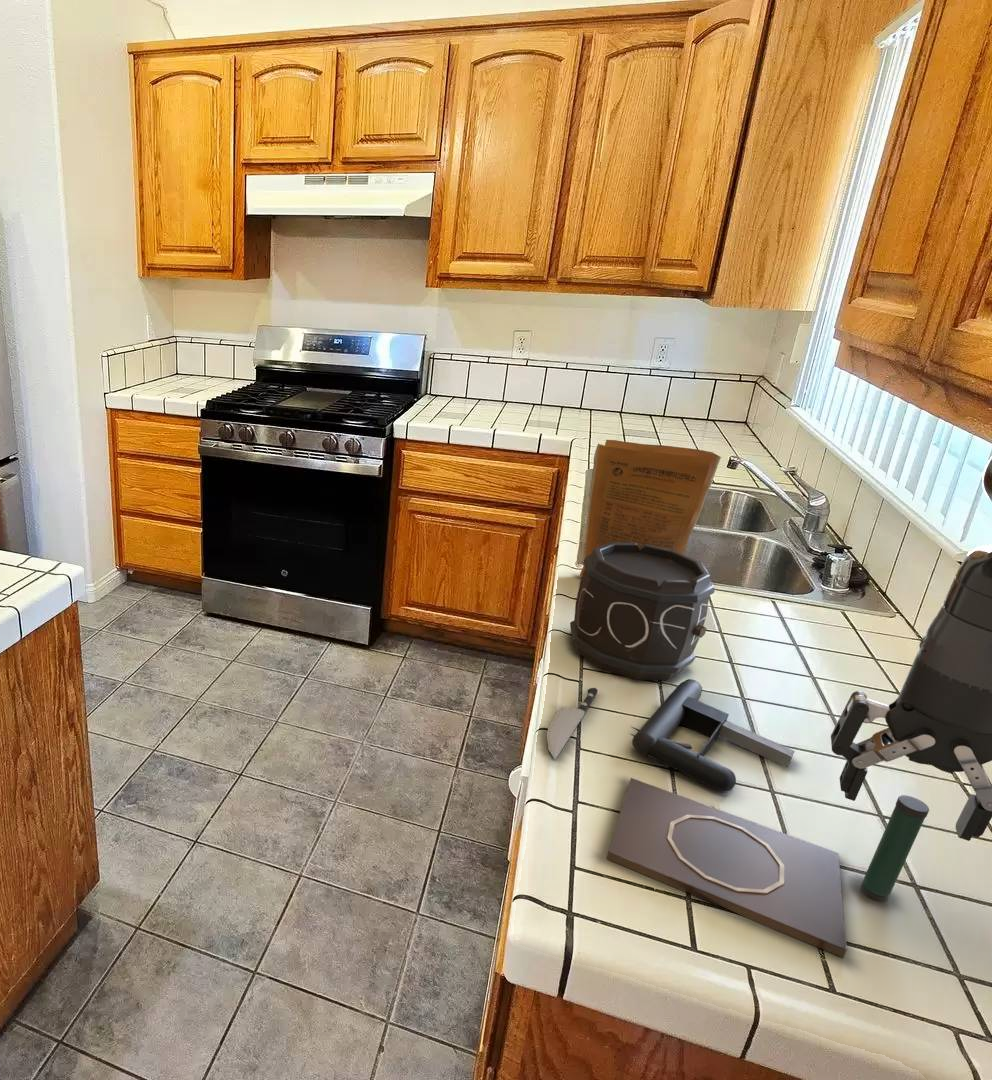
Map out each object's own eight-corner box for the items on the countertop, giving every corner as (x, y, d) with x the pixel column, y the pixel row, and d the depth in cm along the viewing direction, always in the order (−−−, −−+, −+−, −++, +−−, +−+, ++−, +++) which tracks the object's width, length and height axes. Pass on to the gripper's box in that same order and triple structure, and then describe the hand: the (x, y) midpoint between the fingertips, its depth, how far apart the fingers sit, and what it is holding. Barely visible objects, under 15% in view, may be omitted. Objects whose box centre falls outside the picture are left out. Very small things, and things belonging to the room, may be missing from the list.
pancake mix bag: (678, 610, 132) (720, 456, 122) (566, 582, 142) (597, 436, 131) (683, 597, 137) (723, 448, 127) (575, 570, 147) (604, 430, 137)
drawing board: (835, 860, 78) (839, 852, 78) (843, 958, 67) (847, 949, 67) (628, 784, 88) (631, 776, 87) (606, 858, 77) (608, 850, 76)
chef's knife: (530, 752, 93) (554, 761, 91) (531, 744, 92) (555, 753, 91) (576, 687, 107) (598, 693, 105) (577, 680, 107) (599, 686, 105)
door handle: (807, 726, 96) (676, 670, 106) (769, 800, 83) (623, 728, 93) (797, 747, 98) (669, 690, 108) (759, 823, 84) (616, 750, 94)
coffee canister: (660, 700, 105) (688, 599, 99) (545, 647, 118) (564, 554, 112) (714, 662, 116) (742, 568, 110) (604, 617, 128) (624, 531, 123)
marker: (887, 890, 75) (927, 801, 71) (889, 906, 73) (931, 815, 69) (858, 879, 76) (896, 791, 72) (860, 894, 74) (899, 805, 70)
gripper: (876, 656, 65) (815, 804, 71) (1101, 716, 58) (1012, 875, 65) (869, 624, 71) (813, 763, 77) (1073, 675, 64) (994, 824, 70)
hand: (903, 814), depth 71 cm, fingers open, 8 cm apart
